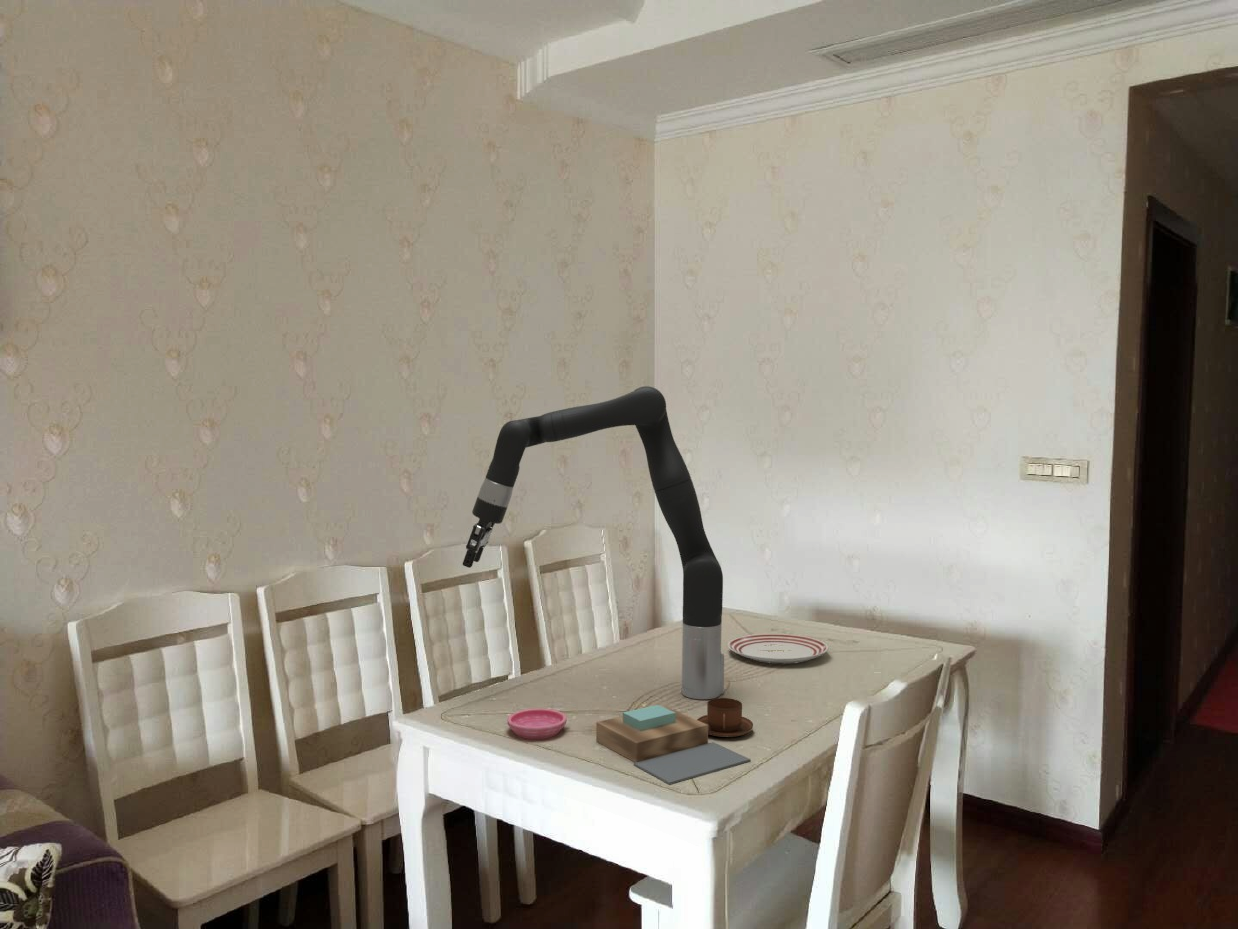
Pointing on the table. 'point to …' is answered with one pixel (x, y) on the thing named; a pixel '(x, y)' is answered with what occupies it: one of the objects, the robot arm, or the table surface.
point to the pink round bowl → (537, 723)
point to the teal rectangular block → (649, 717)
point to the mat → (691, 762)
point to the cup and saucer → (725, 718)
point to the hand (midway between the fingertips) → (470, 563)
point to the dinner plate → (778, 647)
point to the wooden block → (651, 737)
